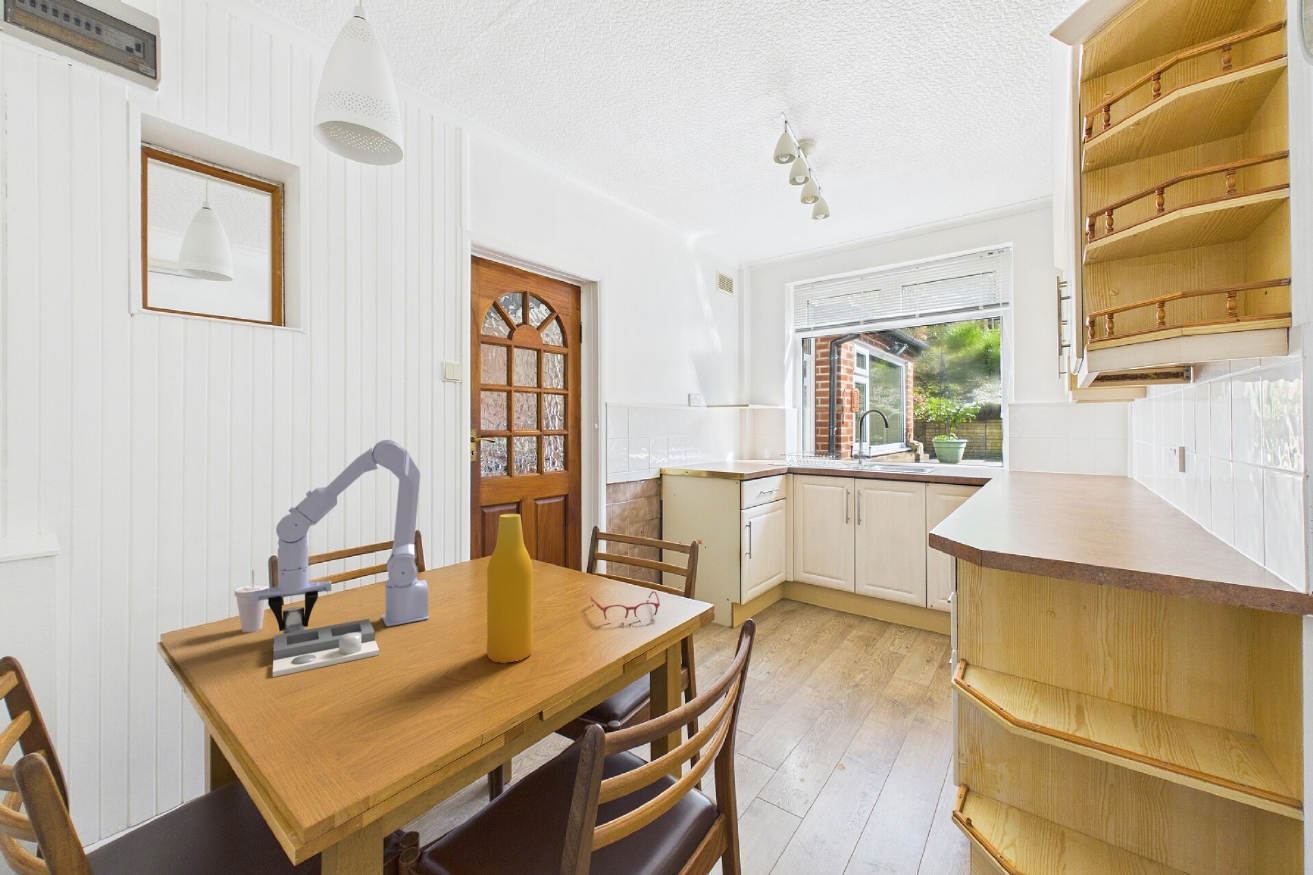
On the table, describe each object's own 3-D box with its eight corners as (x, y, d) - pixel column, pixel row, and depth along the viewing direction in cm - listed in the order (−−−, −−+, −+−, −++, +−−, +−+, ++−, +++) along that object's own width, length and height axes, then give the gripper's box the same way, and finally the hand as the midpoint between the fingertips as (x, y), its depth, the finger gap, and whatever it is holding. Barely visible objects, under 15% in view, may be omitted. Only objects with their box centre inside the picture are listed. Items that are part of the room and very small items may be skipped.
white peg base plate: (375, 645, 117) (375, 626, 117) (379, 654, 112) (379, 635, 112) (273, 665, 107) (273, 645, 107) (272, 677, 102) (272, 655, 102)
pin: (304, 631, 125) (304, 605, 125) (304, 636, 121) (304, 610, 121) (283, 635, 122) (282, 608, 122) (283, 640, 119) (282, 613, 119)
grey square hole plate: (369, 629, 126) (369, 618, 126) (374, 643, 118) (374, 632, 118) (274, 646, 116) (274, 635, 116) (273, 663, 108) (273, 651, 108)
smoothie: (250, 635, 122) (249, 574, 122) (227, 633, 123) (226, 572, 123) (275, 625, 128) (275, 566, 128) (253, 623, 129) (252, 565, 129)
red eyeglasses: (595, 627, 128) (595, 606, 128) (588, 606, 144) (588, 587, 144) (666, 621, 133) (666, 601, 132) (651, 601, 148) (651, 583, 148)
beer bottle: (477, 659, 110) (476, 517, 109) (505, 643, 118) (505, 510, 118) (515, 667, 106) (515, 520, 106) (541, 649, 115) (541, 513, 114)
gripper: (329, 559, 129) (330, 616, 129) (254, 568, 121) (254, 628, 121) (331, 565, 123) (332, 624, 123) (252, 575, 115) (253, 638, 115)
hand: (293, 627), depth 122 cm, fingers closed on pin, 4 cm apart
